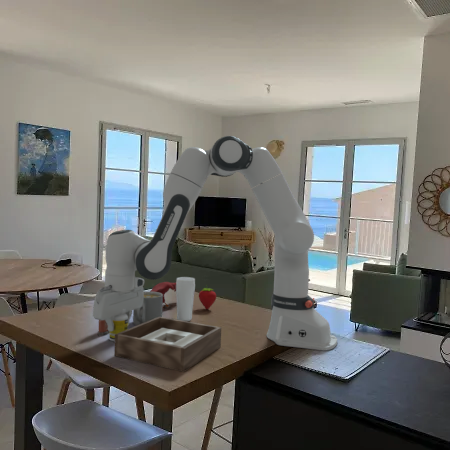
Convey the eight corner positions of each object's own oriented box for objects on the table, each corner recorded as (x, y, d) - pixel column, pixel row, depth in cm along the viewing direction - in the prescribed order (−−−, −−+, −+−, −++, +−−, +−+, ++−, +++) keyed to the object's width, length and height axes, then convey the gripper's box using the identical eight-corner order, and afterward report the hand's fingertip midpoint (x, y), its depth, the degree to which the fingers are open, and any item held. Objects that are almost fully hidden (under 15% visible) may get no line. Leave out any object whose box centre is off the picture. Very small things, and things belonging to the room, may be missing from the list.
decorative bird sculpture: (134, 326, 168) (158, 300, 163) (120, 307, 170) (143, 281, 165) (175, 310, 193) (196, 287, 188) (162, 293, 196) (183, 270, 191)
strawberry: (211, 312, 176) (212, 286, 175) (194, 309, 179) (195, 284, 179) (218, 309, 181) (219, 284, 180) (203, 306, 184) (203, 282, 184)
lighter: (107, 327, 150) (107, 298, 150) (116, 328, 150) (117, 299, 149) (95, 335, 142) (95, 303, 142) (105, 336, 142) (105, 304, 141)
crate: (220, 347, 136) (221, 327, 135) (183, 371, 116) (184, 348, 115) (158, 335, 145) (159, 316, 144) (114, 355, 125) (114, 334, 124)
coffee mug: (145, 317, 165) (146, 290, 164) (167, 322, 160) (168, 294, 159) (119, 325, 153) (120, 296, 153) (142, 331, 148) (143, 301, 148)
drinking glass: (192, 322, 160) (194, 280, 159) (173, 321, 160) (175, 279, 159) (194, 317, 167) (195, 277, 166) (176, 316, 167) (177, 276, 166)
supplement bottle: (127, 342, 137) (127, 310, 136) (108, 342, 136) (109, 310, 135) (127, 336, 142) (128, 305, 141) (110, 336, 141) (110, 305, 141)
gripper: (105, 290, 127) (104, 338, 128) (147, 279, 146) (146, 321, 147) (88, 287, 130) (87, 334, 131) (131, 277, 148) (130, 318, 149)
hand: (118, 327), depth 139 cm, fingers closed on supplement bottle, 5 cm apart
